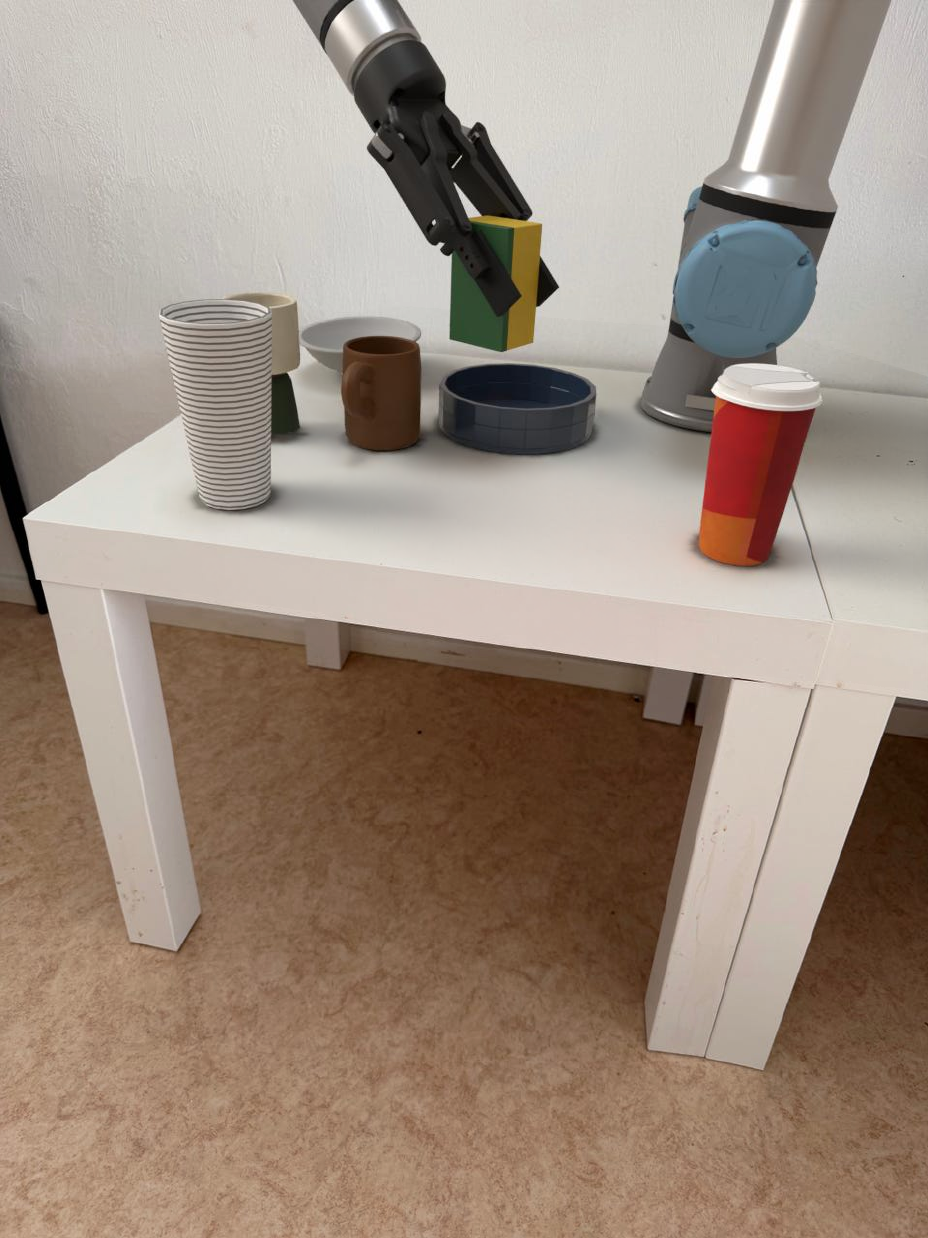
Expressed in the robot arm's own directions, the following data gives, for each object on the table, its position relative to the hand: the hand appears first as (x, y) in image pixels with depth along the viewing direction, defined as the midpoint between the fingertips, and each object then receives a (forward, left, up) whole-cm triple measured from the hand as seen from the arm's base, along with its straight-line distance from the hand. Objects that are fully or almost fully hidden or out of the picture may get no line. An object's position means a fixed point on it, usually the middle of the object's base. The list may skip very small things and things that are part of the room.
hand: (528, 301), depth 76 cm
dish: (+1, -34, -15) cm, 37 cm away
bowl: (-6, -10, -15) cm, 19 cm away
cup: (+26, -5, -15) cm, 30 cm away
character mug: (+18, -19, -15) cm, 30 cm away
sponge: (+1, -4, -4) cm, 6 cm away
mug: (+10, -11, -15) cm, 21 cm away
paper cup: (-6, +22, -15) cm, 28 cm away
